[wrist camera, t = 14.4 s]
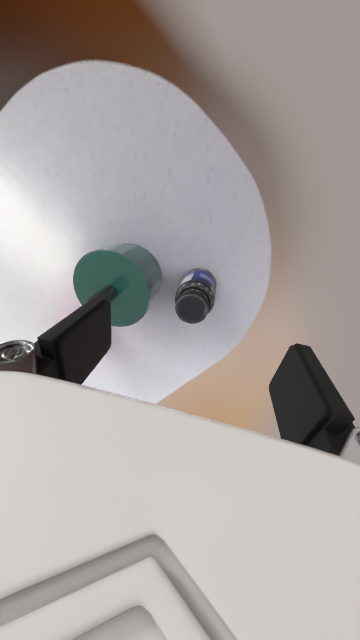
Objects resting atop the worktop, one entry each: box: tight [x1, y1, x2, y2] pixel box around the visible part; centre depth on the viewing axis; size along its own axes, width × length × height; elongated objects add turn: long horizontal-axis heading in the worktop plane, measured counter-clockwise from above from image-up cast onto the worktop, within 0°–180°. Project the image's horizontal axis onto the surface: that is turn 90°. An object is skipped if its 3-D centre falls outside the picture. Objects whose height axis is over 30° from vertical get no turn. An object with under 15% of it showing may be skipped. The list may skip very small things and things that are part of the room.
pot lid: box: [73, 250, 151, 327], centre depth 31 cm, size 13×13×6 cm
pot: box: [107, 244, 161, 302], centre depth 37 cm, size 12×12×8 cm
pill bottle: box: [175, 269, 216, 324], centre depth 34 cm, size 6×6×11 cm
